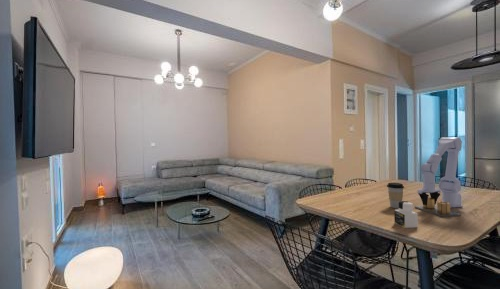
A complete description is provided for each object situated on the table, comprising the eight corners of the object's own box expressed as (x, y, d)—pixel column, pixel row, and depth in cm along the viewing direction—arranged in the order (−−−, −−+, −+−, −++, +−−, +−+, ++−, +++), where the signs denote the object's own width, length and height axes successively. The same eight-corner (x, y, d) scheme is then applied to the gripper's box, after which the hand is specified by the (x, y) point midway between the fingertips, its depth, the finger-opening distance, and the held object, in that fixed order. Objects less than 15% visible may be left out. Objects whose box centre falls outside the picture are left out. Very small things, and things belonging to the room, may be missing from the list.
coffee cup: (407, 209, 142) (407, 185, 142) (390, 208, 144) (390, 185, 144) (400, 205, 152) (400, 182, 151) (384, 204, 153) (384, 182, 153)
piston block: (430, 206, 147) (430, 196, 147) (460, 215, 130) (460, 204, 130) (414, 207, 146) (414, 197, 145) (442, 217, 128) (442, 205, 128)
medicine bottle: (394, 223, 120) (394, 200, 120) (406, 222, 121) (406, 199, 121) (404, 228, 113) (404, 204, 113) (417, 227, 114) (417, 203, 114)
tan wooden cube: (428, 205, 146) (428, 196, 146) (437, 208, 140) (436, 199, 140) (420, 206, 145) (420, 197, 145) (429, 208, 139) (428, 199, 139)
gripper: (433, 180, 147) (433, 202, 147) (413, 182, 145) (413, 203, 145) (444, 182, 140) (444, 205, 140) (423, 184, 138) (423, 206, 138)
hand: (429, 204), depth 142 cm, fingers closed on tan wooden cube, 6 cm apart
